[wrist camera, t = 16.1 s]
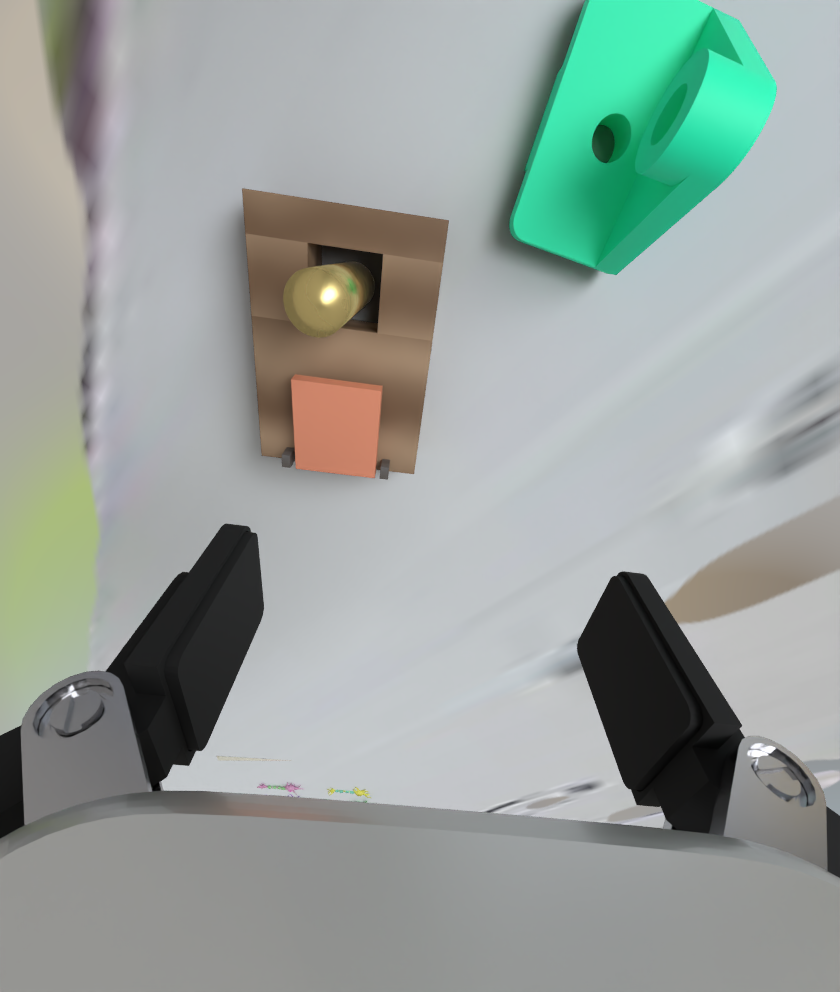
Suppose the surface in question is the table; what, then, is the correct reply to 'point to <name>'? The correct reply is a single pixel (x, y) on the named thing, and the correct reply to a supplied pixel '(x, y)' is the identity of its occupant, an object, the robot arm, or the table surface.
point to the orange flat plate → (336, 425)
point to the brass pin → (327, 296)
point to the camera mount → (640, 127)
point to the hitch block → (357, 344)
